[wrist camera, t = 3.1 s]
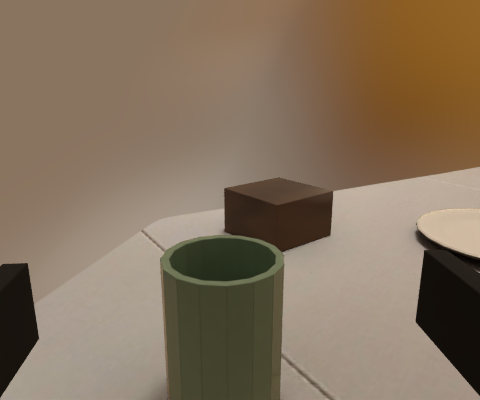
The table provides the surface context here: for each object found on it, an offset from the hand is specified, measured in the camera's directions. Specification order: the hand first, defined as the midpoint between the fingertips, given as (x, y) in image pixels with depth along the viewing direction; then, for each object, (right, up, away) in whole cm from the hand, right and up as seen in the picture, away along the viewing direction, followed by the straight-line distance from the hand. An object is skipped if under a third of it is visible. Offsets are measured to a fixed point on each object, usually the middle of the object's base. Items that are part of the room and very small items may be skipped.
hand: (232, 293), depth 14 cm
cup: (-1, -10, +13) cm, 16 cm away
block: (+5, -1, +42) cm, 43 cm away
